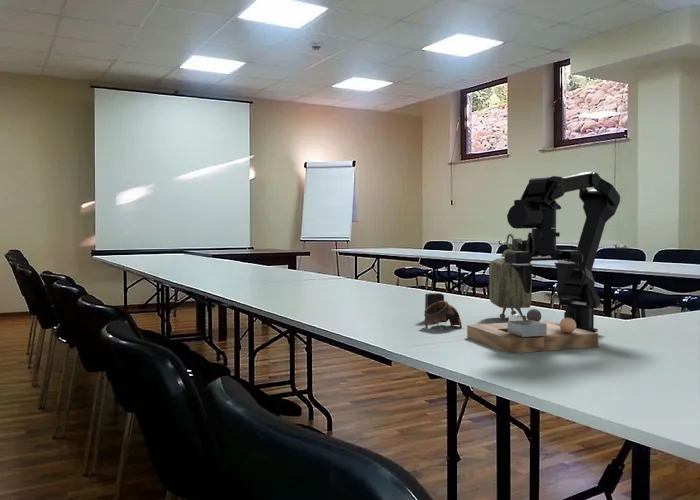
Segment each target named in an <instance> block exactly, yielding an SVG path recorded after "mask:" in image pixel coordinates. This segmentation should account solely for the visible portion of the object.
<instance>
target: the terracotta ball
mask: <svg viewBox="0 0 700 500" xmlns="http://www.w3.org/2000/svg"><path fill="white" fill-rule="evenodd" d="M559 324H560V329H561V330H562V331H563V332H565V333H572V332H573V331H574V330H575V329H576V323H575V321H574V320H573V319H572V318H564V317H563V318H562V319H561V320H560V322H559Z"/></svg>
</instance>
